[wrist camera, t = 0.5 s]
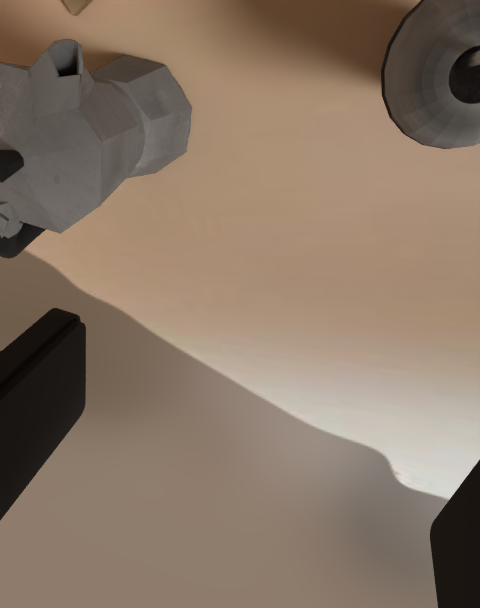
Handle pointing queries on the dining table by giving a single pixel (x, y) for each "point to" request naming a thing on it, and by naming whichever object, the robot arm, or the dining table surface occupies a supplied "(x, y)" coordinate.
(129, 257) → the dining table surface
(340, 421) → the dining table surface
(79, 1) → the clipboard
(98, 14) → the dining table surface
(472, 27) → the beverage cup
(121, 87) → the coffeepot
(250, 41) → the dining table surface
